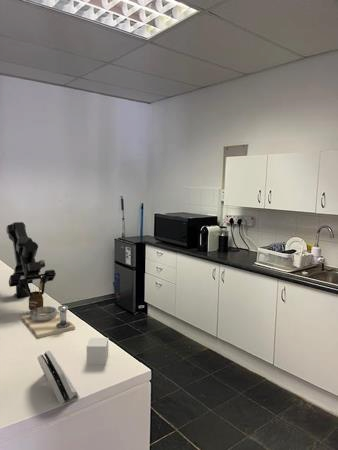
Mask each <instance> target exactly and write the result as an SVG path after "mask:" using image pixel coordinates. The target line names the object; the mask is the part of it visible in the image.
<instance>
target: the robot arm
mask: <svg viewBox="0 0 338 450" xmlns="http://www.w3.org/2000/svg"><path fill="white" fill-rule="evenodd" d="M6 234H7V235H8V238H9V240H11V242H12V245H13V253H14V258H15V264H16V265H15V267H14V271H13V273H12V274H11V275H10V276H9V279H8V287H10V288H11V287H15V293H14V294H13V296H15V297H16V298H17V299H21V298H26V297H30V296H31V291H32V290H31V289H30V288H31V287H30V286H29V285H30V284H33V283H34V281H33V280H39V285H42V289H41V290H40V292H42V295H44V294H45V286H46V285H45V284H47V282H53V281H54V280H55V278H56V275H57V273H56V271H55V269H46V270H45V271H44V273H41V270H42V268H45V267H46V263H45V260H44V259H41V260H39V261H36V259H35V257H36V255H37V254H38V253H37V252H38V249H39V244H38V243H36V242H35V241H33V239H32V238H31V237H29V236H28V233H27V231H26V224H25V222H23V221H16V222H12V223H11V224H8V225H7V226H6ZM41 283H43V284H41Z"/></svg>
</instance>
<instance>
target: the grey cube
mask: <svg viewBox="0 0 338 450" xmlns="http://www.w3.org/2000/svg"><path fill="white" fill-rule="evenodd" d="M108 357H109V337H90V338H89V339H88V343H87V344H86V365H87V364H92V365H107V361H108Z"/></svg>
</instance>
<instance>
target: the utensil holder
mask: <svg viewBox="0 0 338 450" xmlns="http://www.w3.org/2000/svg"><path fill="white" fill-rule="evenodd" d="M41 284H43V283H41ZM32 285H35V283H34V282H32ZM38 285H39V286H38V291H37V286H33V287H29V288H30V291H31V296H28V309H29V311H31V310H32V309H35V308H38V307H44V296H43V294H42V292H41V289H42V285H40V284H38ZM34 288H35V289H34Z"/></svg>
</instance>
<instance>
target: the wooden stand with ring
mask: <svg viewBox="0 0 338 450" xmlns="http://www.w3.org/2000/svg"><path fill="white" fill-rule="evenodd" d="M68 310H69V307H68V305H66V304H65V305H60V306H58V307H57V308H56V307H54V306H51V305H50V306H49V305H48V306H44V305H43V307H38V308H35V309H32V310H29V314H26V315H22V316H21V320H22V321H23V322H24V323H25V325H26V326H27V327H28V328H29V329H30V331H31V332H32V333H33V334H34V335H35V337H36V338H37V339H41V338H44V337H48V336H53V335H57V334H60V333H64V332H68V331H72V330H75V329H76V326H75V325H74V324H73V323H72V322H71V321H70V320H69V319H68V318H67V311H68Z"/></svg>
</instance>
